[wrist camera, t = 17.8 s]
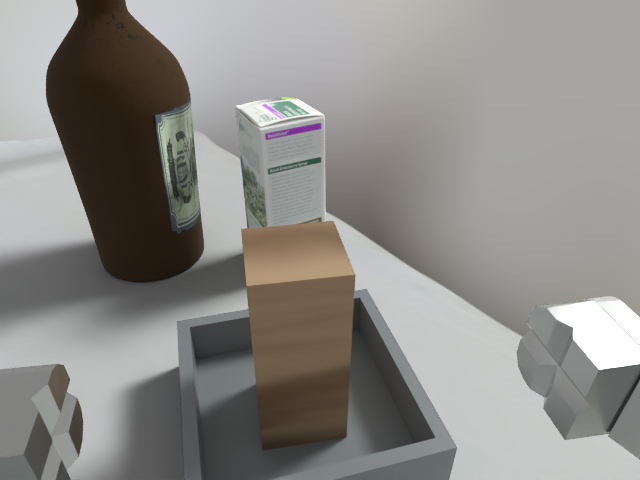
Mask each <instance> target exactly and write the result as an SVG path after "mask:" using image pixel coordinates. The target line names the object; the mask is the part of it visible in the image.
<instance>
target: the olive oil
mask: <svg viewBox="0 0 640 480" xmlns="http://www.w3.org/2000/svg"><path fill="white" fill-rule="evenodd" d="M76 3H77V6H78V16H77V18H76V20H75V22H74V24H73V25H72V27H71V29H70V30H69V32H68V34H67V35H66V37H65V38H64V40H63V42H62V43H61V45H60V46H59V48H58V49H57V51H56V53H55V54H54V56H53V57H52V59H51V61H50V64H49V66H48V70H47V76H46V98H47V103H48V107H49V110H50V113H51V116H52V119H53V122H54V124H55V127H56V130H57V133H58V135H59V138H60V141H61V144H62V146H63V149H64V152H65V155H66V157H67V160H68V163H69V166H70V169H71V172H72V174H73V177H74V180H75V183H76V186H77V189H78V192H79V194H80V197H81V200H82V203H83V206H84V209H85V212H86V215H87V217H88V220H89V224H90V227H91V230H92V233H93V236H94V239H95V242H96V245H97V248H98V251H99V254H100V258H101V261H102V263H103V266H104V268H105V269H106V271H107V272H109V273H110V274H111V275H113V276H115V277H117V278H120V279H123V280H128V281H139V282H141V281H154V280H159V279H164V278H167V277H171V276H173V275H176V274H178V273H181V272H183V271H184V270H186V269H188V268H189V267H191V266H192V265H193V264H194V263H195V262H196V261H197V260H198V259H199V258H200V257H201V255H202V253H203V250H204V239H203V230H202V222H201V213H200V202H199V191H198V180H197V169H196V158H195V147H194V135H193V124H192V112H191V111H192V110H191V99H190V93H189V87H188V83H187V80H186V78H185V75H184V73H183V71H182V68H181V66H180V64H179V62H178V61H177V59H176V58H175V56H174V55H173V54H172V53H171V52H170V51H169V50H168V49H167V48H166V47H165V46H164V45H163V44H162V43H161V42H160V41H159V40H157V39H156V38H155V37H154V36H153V35H152V34H151V33H150V32H149V31H147V30H146V29H145V28H144V27H143V26H142V25H141V24H140V23H139V22H138V21H137V20H135V19H134V17H133V16H132V15H131V14H130V13H129V12H128V10H127V7H126V2H125V0H76Z"/></svg>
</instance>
